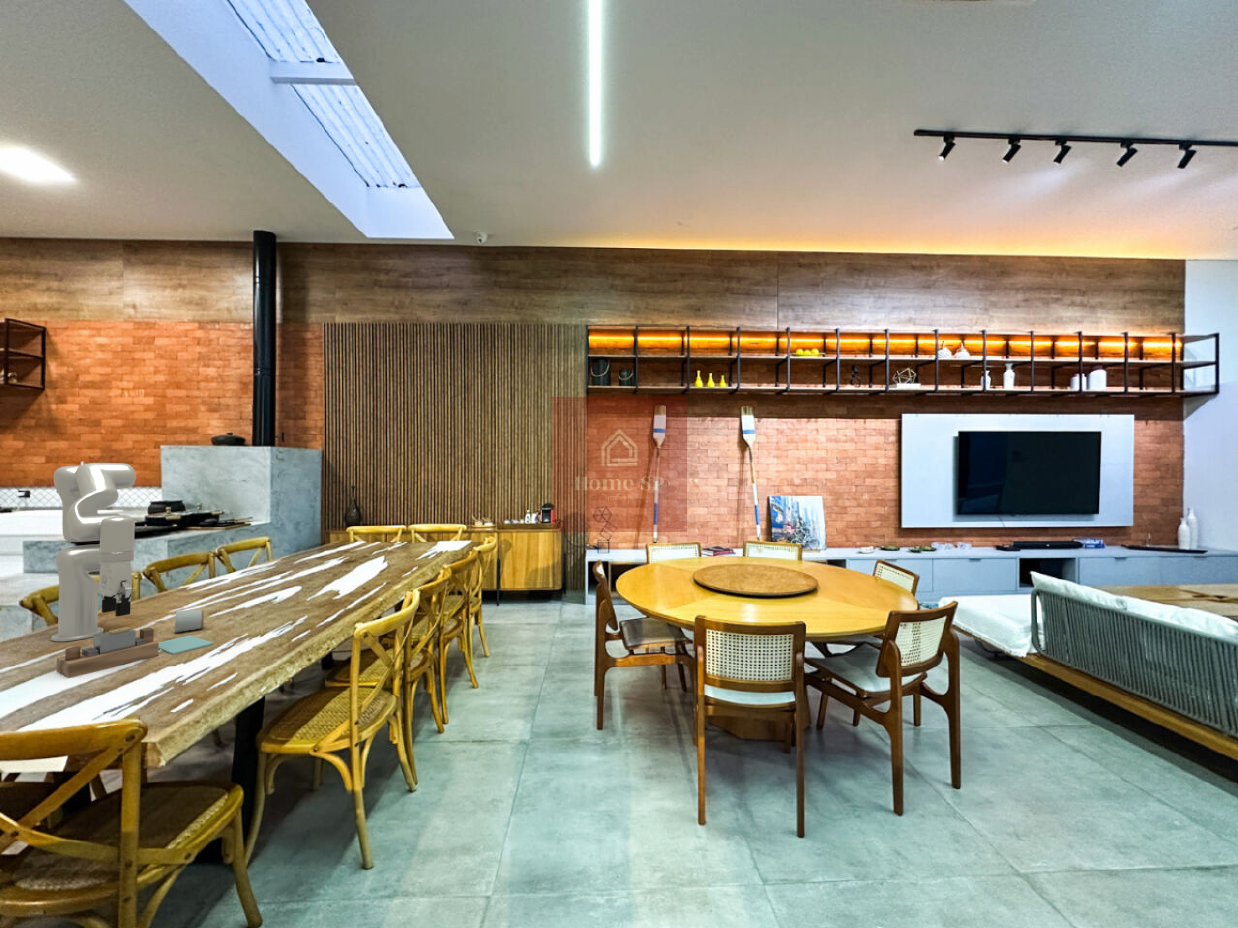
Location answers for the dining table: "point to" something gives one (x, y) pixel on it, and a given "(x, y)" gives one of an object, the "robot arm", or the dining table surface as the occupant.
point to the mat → (183, 644)
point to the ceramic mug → (189, 620)
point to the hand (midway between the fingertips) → (115, 613)
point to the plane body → (106, 656)
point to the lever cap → (114, 640)
